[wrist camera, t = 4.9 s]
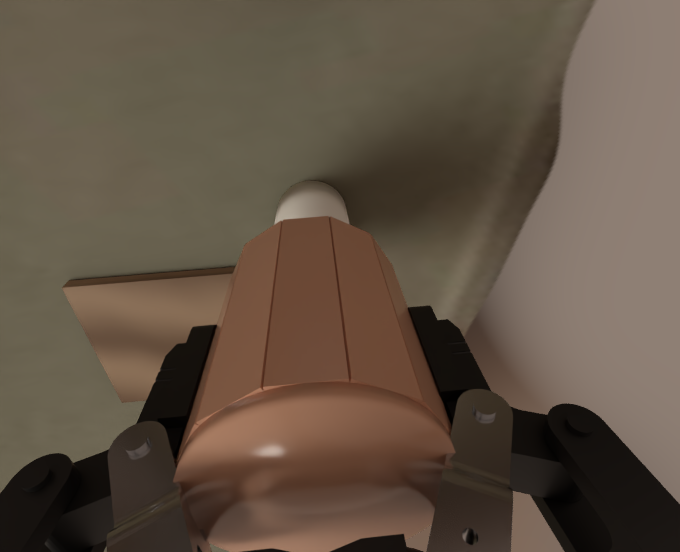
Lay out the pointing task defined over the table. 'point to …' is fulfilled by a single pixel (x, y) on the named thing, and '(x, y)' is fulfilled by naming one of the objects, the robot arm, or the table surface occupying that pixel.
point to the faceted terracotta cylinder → (313, 400)
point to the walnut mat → (144, 320)
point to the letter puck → (311, 202)
